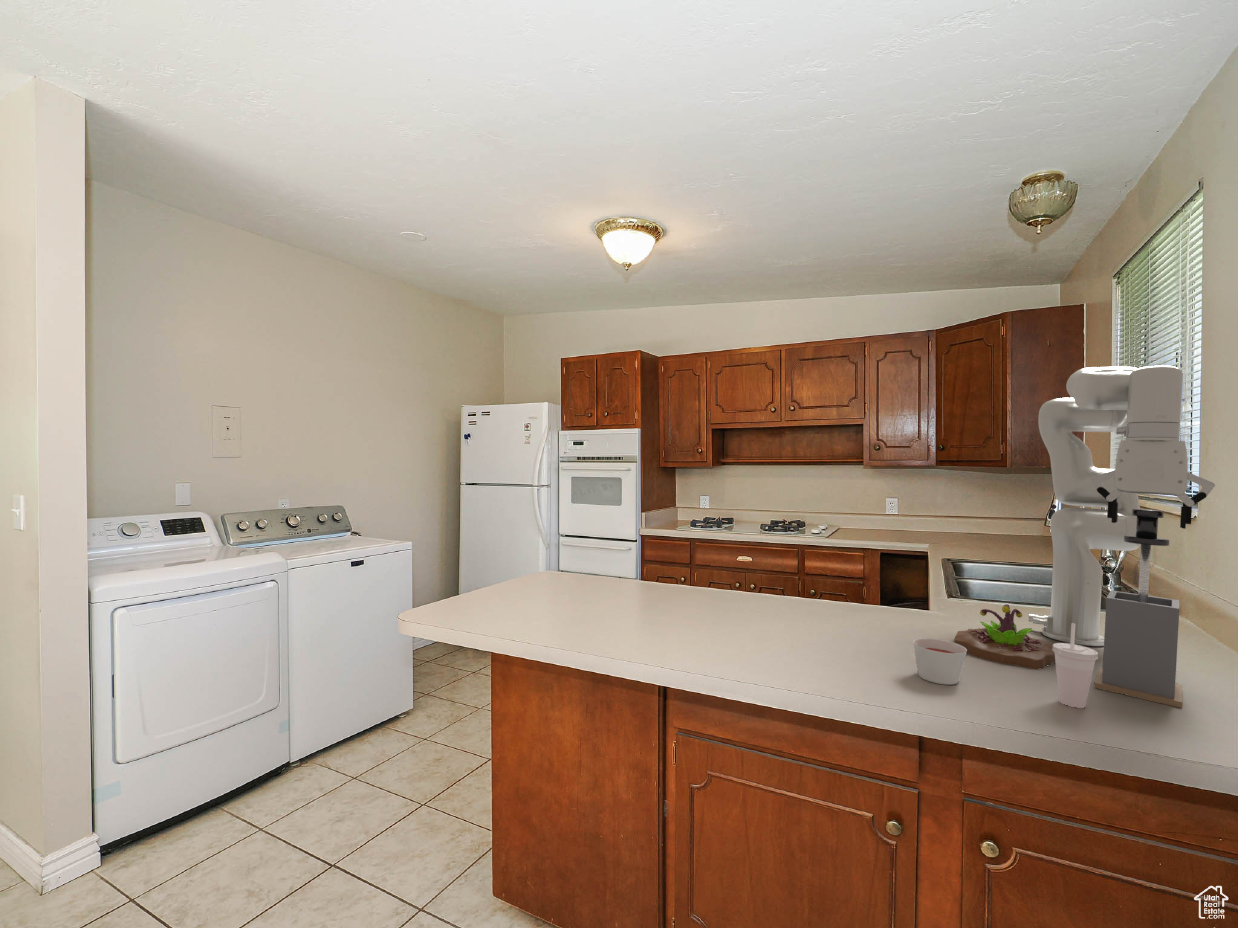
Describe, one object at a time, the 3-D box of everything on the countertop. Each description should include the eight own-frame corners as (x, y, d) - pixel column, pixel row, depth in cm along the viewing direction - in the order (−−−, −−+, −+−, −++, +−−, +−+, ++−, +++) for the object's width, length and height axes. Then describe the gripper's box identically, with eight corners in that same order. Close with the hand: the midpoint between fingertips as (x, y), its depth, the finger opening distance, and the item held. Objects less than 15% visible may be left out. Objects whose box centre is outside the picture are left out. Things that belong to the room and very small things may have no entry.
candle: (903, 668, 119) (905, 637, 119) (949, 671, 119) (951, 639, 119) (925, 686, 110) (927, 652, 110) (975, 688, 110) (977, 654, 110)
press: (1094, 687, 113) (1099, 597, 113) (1100, 672, 122) (1104, 588, 121) (1181, 707, 105) (1187, 610, 104) (1181, 689, 114) (1186, 600, 113)
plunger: (1115, 638, 113) (1122, 509, 112) (1117, 631, 118) (1124, 507, 118) (1165, 648, 108) (1173, 512, 108) (1166, 640, 113) (1173, 511, 113)
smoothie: (1040, 696, 108) (1044, 618, 107) (1073, 696, 108) (1078, 618, 108) (1070, 711, 101) (1074, 628, 101) (1105, 711, 102) (1110, 629, 102)
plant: (941, 650, 133) (943, 600, 133) (966, 634, 147) (968, 588, 147) (1051, 676, 119) (1054, 620, 119) (1067, 655, 133) (1070, 605, 133)
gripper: (1091, 432, 115) (1087, 521, 116) (1218, 432, 104) (1213, 531, 104) (1095, 434, 121) (1091, 519, 121) (1216, 435, 109) (1211, 529, 109)
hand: (1147, 525), depth 112 cm, fingers open, 9 cm apart
